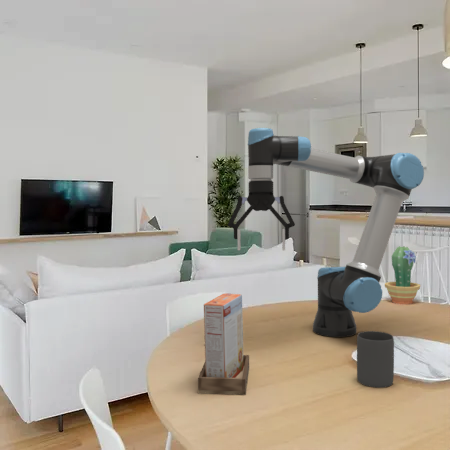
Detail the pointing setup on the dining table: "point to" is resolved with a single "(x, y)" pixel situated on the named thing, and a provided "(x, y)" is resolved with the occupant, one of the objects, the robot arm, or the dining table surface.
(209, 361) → the cracker box
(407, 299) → the potted cactus
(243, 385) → the tray
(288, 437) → the dining table surface
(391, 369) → the mug
